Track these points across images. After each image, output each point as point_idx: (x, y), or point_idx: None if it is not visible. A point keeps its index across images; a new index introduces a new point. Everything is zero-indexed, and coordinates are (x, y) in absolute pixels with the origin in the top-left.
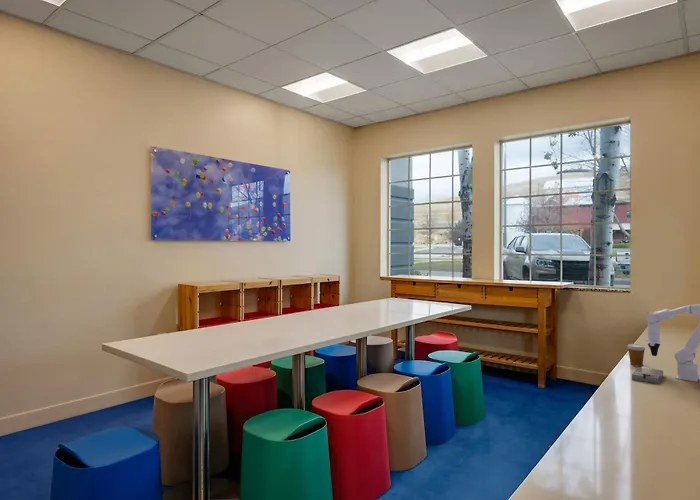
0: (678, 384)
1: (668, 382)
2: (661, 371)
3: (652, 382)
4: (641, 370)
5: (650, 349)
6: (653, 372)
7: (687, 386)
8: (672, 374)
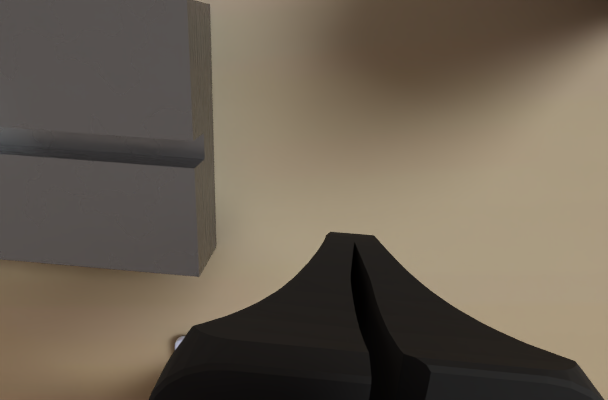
0: (11, 346)
1: (8, 288)
2: (139, 263)
3: None
4: (9, 63)
5: (284, 285)
6: (26, 195)
7: (7, 392)
8: None
